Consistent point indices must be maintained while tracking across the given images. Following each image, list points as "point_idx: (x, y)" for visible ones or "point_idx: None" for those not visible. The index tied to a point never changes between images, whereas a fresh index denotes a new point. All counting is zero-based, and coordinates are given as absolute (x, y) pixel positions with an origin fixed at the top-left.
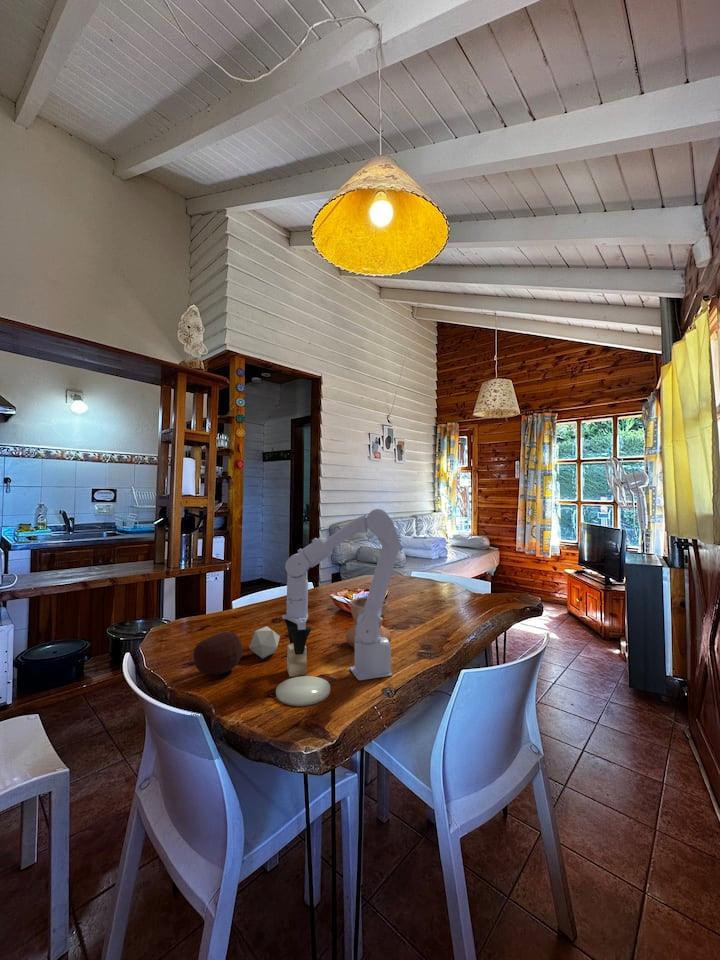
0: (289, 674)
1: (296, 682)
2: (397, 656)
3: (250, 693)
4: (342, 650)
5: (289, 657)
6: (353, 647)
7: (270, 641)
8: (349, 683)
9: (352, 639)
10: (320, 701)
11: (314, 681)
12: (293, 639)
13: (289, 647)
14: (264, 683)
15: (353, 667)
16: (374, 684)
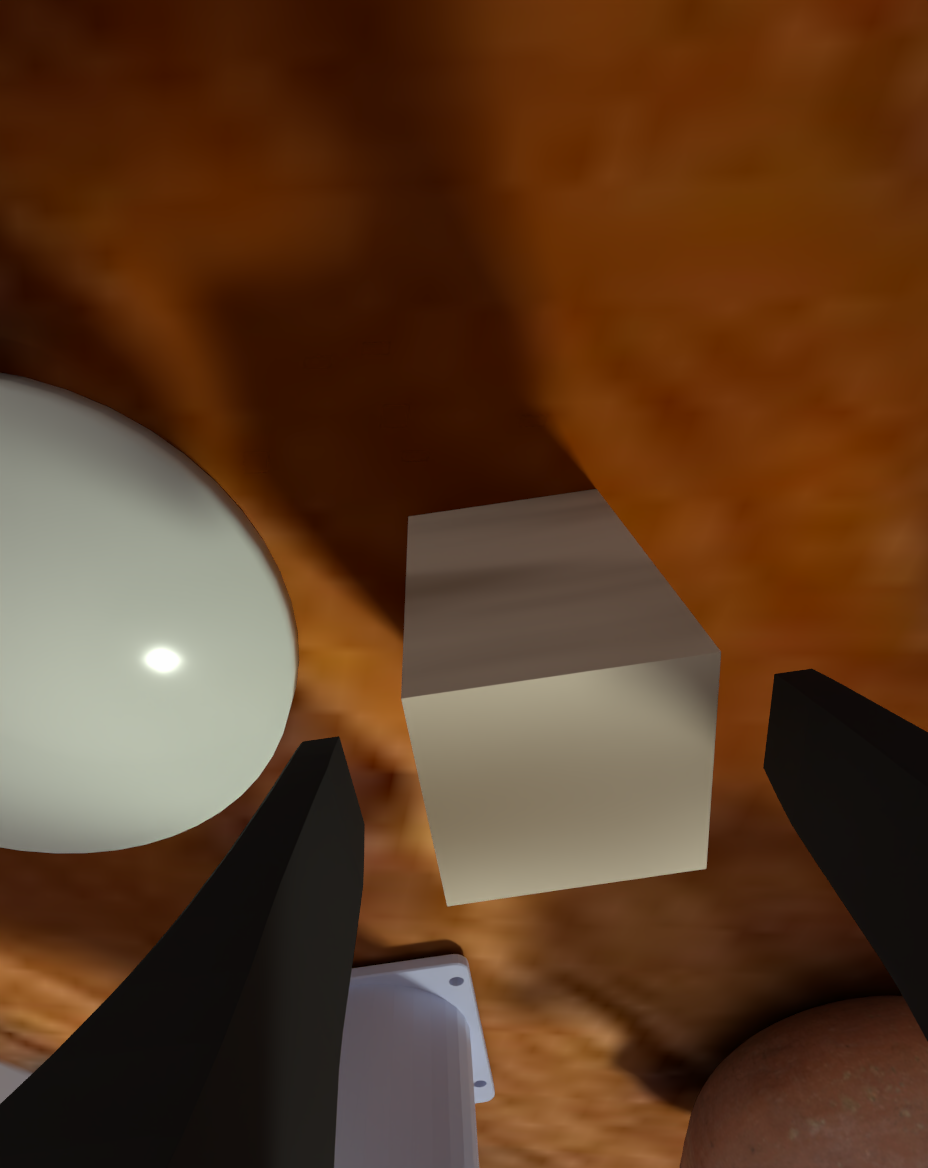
0: (426, 520)
1: (138, 600)
2: (594, 1146)
3: None
4: (846, 927)
5: (438, 611)
6: (814, 1010)
7: None
8: None
9: (831, 1093)
10: None
11: (162, 752)
12: (101, 1006)
13: (514, 689)
14: (249, 202)
15: (462, 977)
16: None
